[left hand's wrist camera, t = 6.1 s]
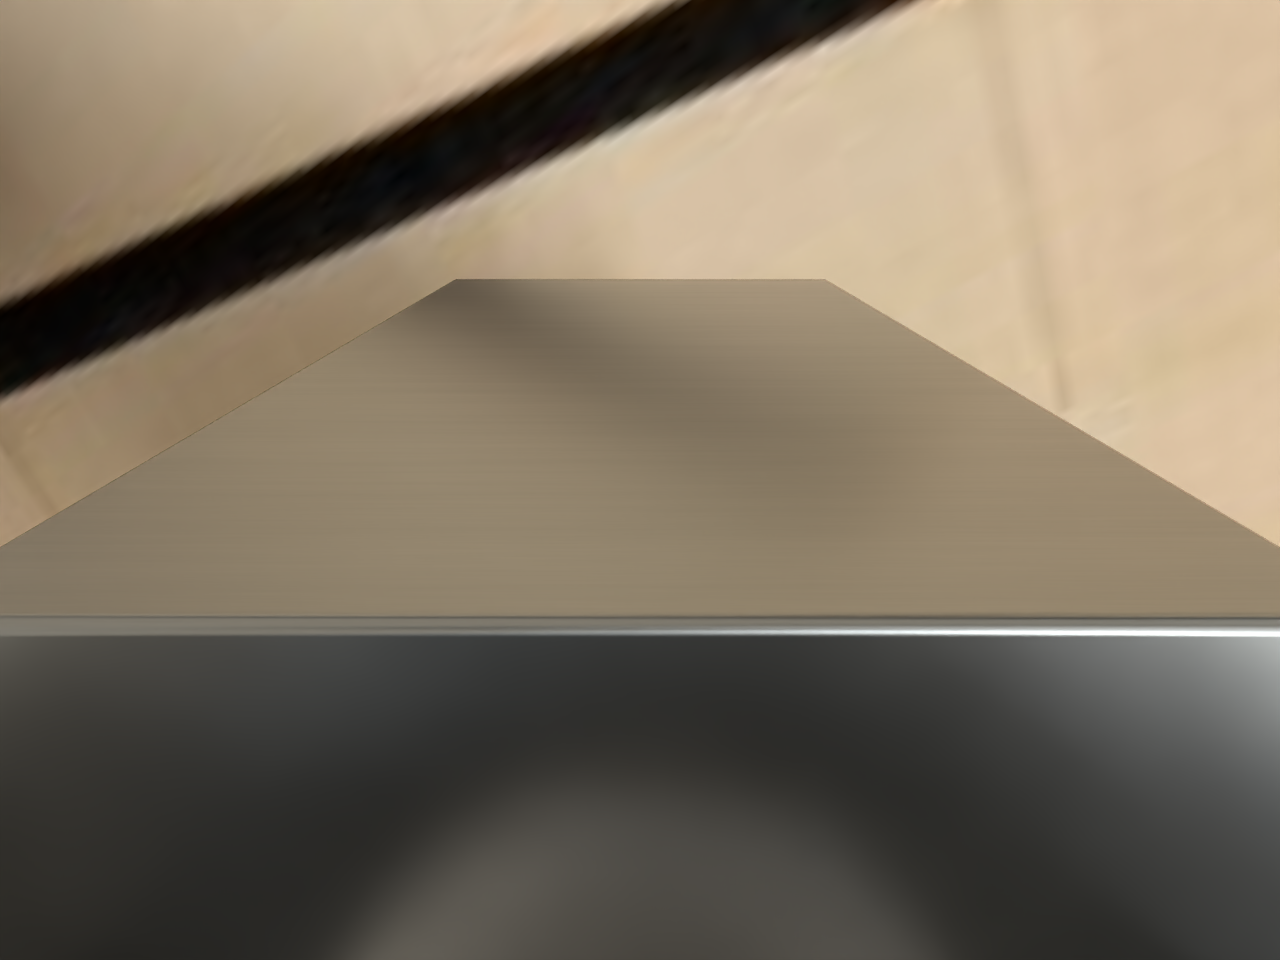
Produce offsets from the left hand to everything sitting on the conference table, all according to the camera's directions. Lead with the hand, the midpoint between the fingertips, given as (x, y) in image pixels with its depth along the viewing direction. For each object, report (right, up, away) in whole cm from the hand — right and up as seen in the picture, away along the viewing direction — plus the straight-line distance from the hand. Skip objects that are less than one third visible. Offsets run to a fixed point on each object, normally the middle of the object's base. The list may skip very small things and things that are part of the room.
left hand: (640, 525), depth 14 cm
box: (0, -7, +6) cm, 10 cm away
